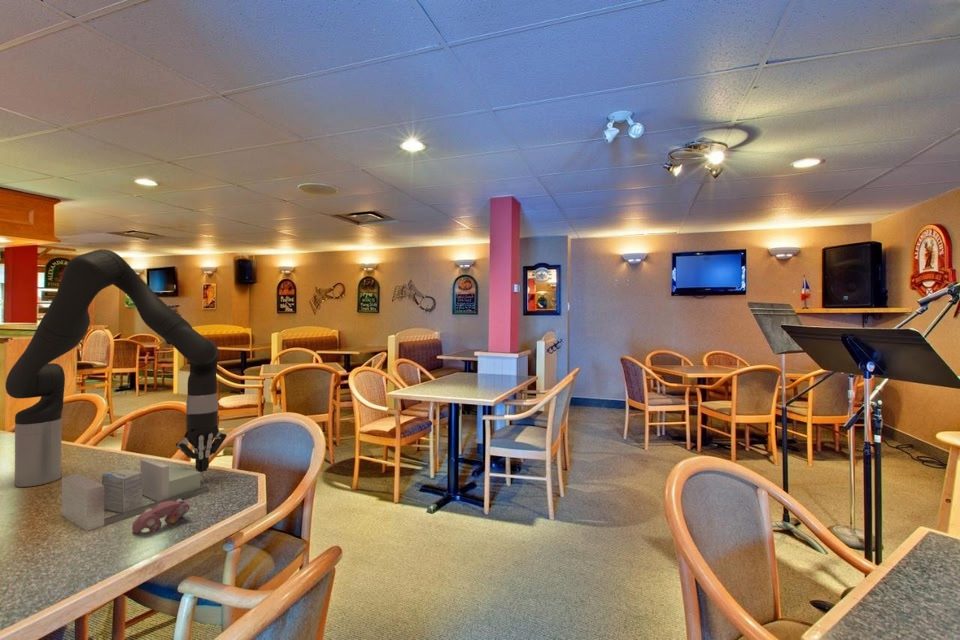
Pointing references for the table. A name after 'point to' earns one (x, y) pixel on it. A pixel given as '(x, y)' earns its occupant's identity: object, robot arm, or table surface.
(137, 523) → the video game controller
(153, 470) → the sliding jaw
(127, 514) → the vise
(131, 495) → the medicine box
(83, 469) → the table surface
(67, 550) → the table surface
